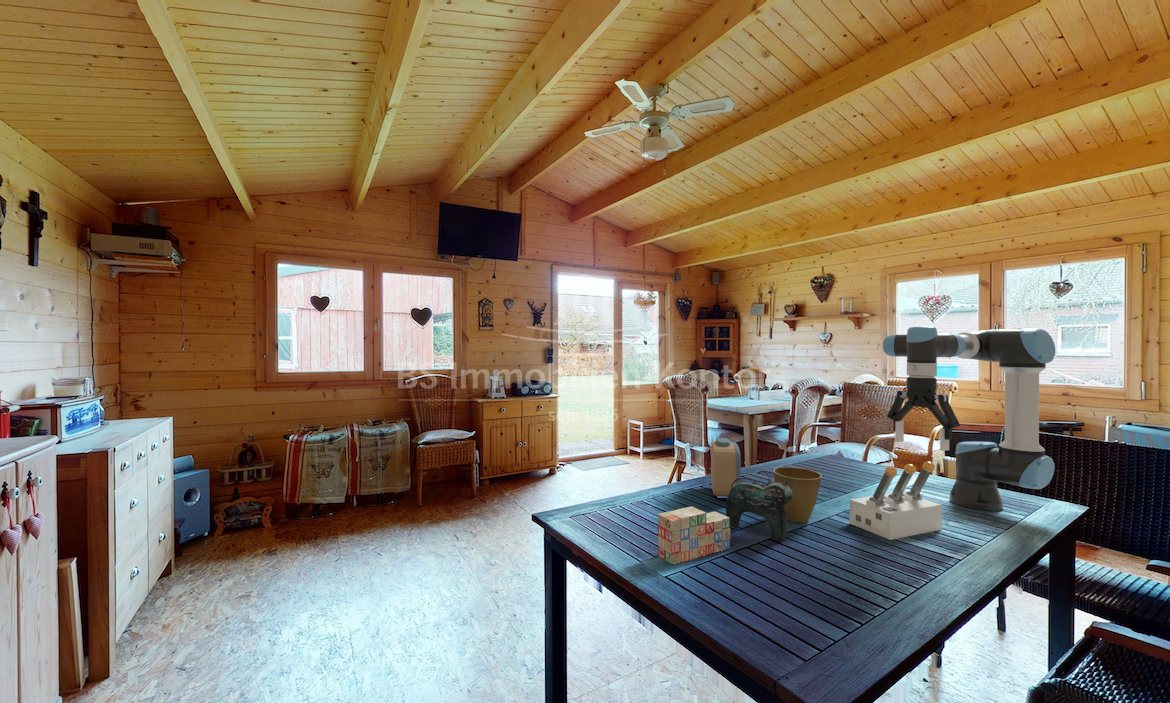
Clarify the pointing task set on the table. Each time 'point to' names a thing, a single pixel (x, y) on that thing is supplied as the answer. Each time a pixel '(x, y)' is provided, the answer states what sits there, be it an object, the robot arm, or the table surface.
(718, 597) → the table surface
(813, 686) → the table surface
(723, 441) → the alarm clock
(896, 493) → the lever middle
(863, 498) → the switch box
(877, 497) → the lever
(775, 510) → the ceramic cat
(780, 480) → the plant pot
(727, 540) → the stack of blocks
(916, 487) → the lever
